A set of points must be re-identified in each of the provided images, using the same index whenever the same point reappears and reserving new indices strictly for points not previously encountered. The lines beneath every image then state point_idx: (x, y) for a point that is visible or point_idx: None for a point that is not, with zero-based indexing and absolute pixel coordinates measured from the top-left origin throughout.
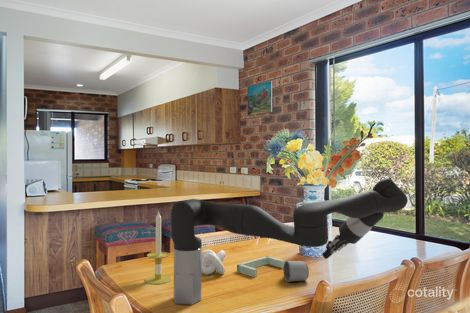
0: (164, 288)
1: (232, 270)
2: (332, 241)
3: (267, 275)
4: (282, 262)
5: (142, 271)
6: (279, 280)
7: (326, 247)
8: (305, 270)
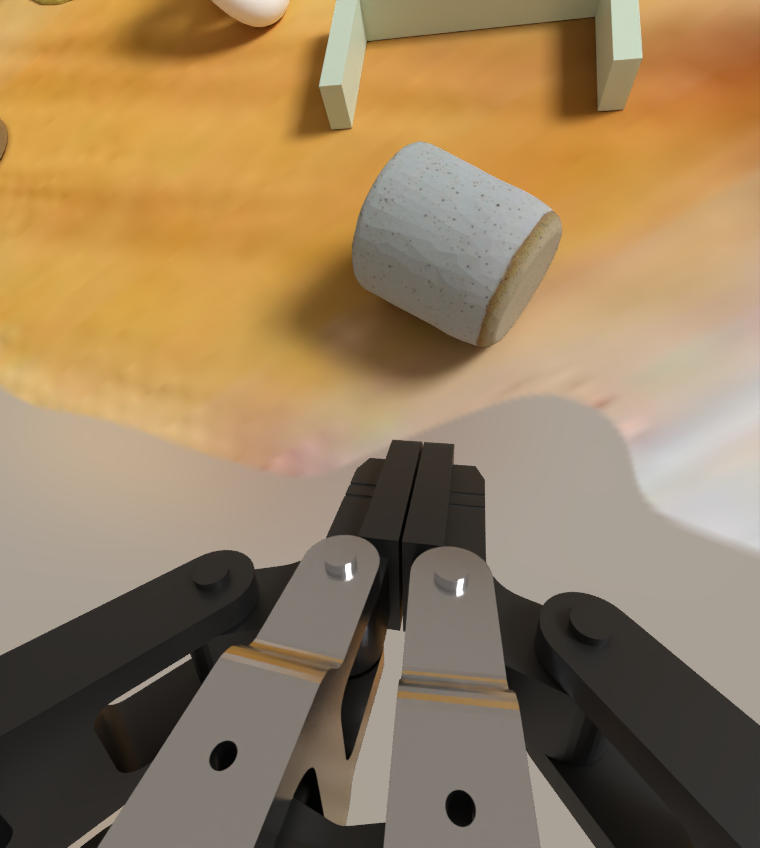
0: (15, 41)
1: None
2: (161, 763)
3: None
4: (610, 68)
5: None
6: None
7: (169, 583)
8: (460, 314)
